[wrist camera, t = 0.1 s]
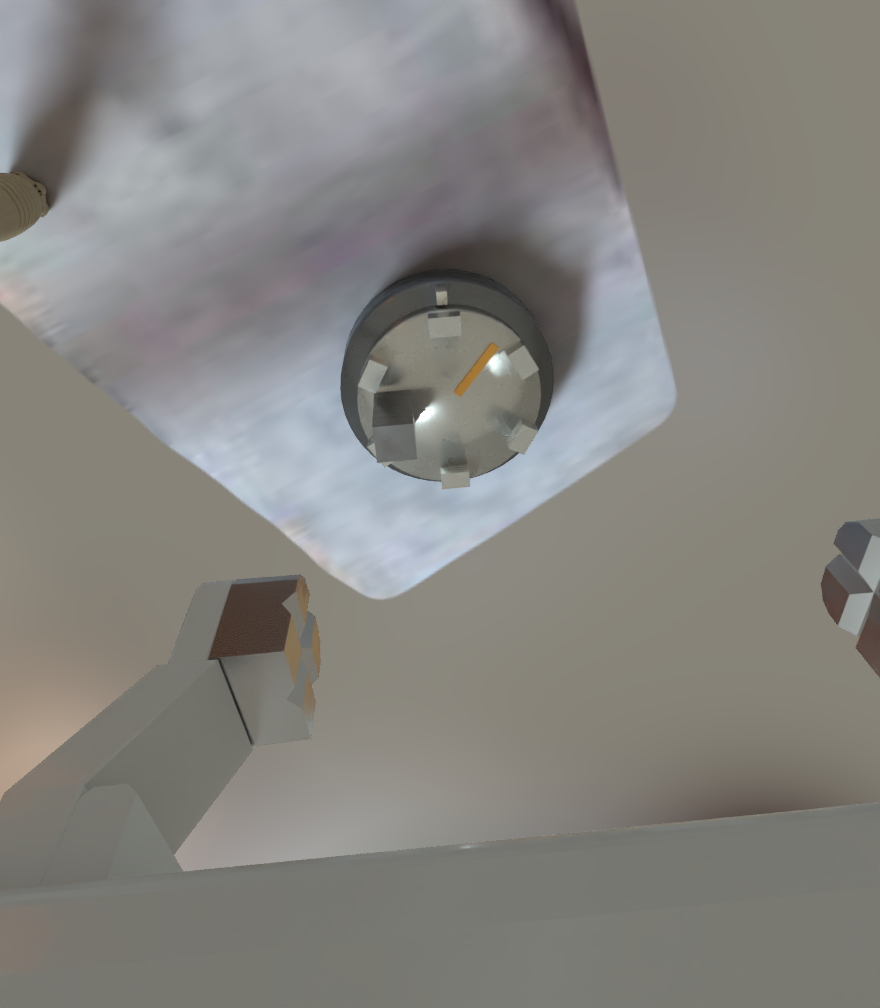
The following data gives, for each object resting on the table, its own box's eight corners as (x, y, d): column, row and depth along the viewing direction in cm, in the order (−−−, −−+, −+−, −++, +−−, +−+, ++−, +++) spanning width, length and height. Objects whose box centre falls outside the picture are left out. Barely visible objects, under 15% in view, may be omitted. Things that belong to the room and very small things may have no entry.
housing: (327, 279, 53) (321, 299, 48) (546, 260, 53) (560, 278, 48) (359, 467, 63) (356, 499, 58) (542, 450, 63) (554, 480, 58)
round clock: (345, 312, 50) (338, 350, 43) (537, 295, 50) (559, 330, 44) (371, 476, 58) (368, 528, 52) (535, 461, 59) (553, 511, 52)
